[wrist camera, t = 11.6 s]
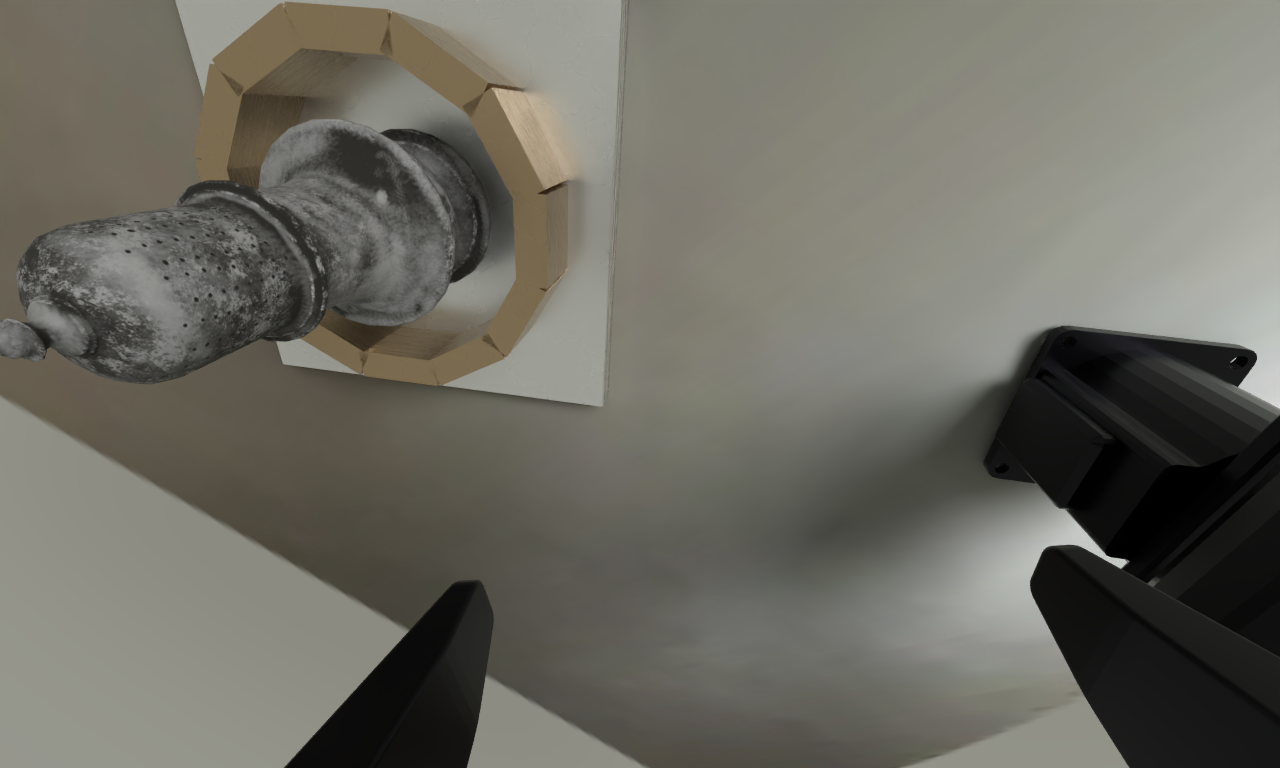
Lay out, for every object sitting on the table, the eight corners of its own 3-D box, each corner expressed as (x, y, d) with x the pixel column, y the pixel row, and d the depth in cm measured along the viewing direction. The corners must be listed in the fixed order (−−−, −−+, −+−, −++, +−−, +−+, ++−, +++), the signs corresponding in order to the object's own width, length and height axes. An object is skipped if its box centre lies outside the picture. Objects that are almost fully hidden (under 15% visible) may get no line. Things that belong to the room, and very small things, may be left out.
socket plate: (629, -17, 15) (605, -54, 12) (607, 392, 22) (589, 441, 18) (194, -46, 16) (62, -88, 13) (303, 352, 23) (234, 392, 19)
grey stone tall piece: (376, 300, 20) (-16, 513, 9) (310, 133, 17) (-354, 159, 6) (518, 284, 18) (259, 505, 8) (471, 103, 16) (-8, 77, 5)
